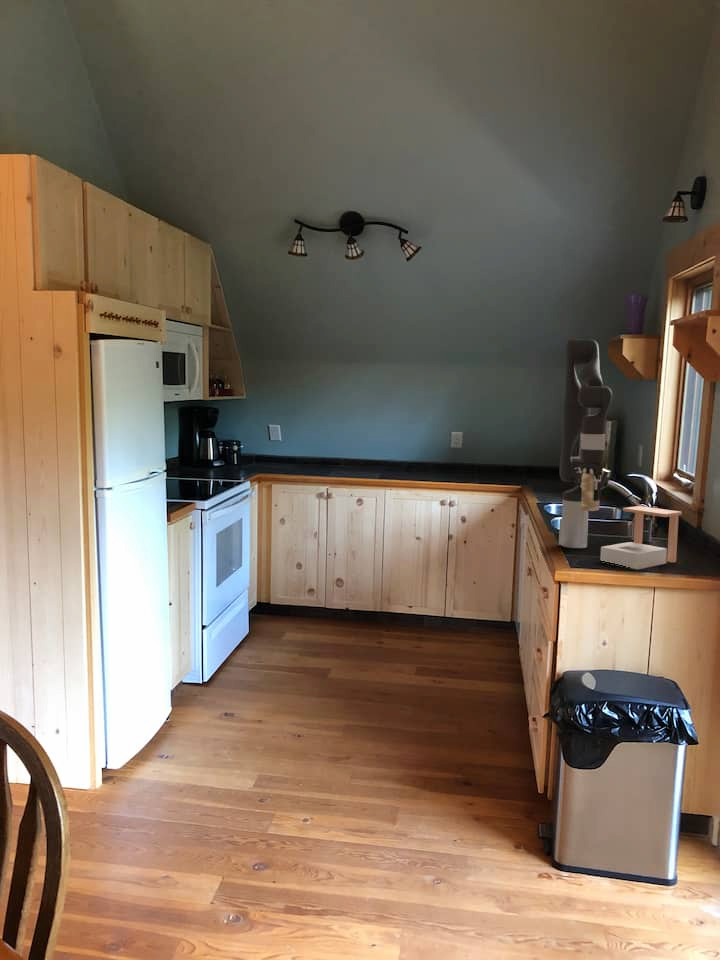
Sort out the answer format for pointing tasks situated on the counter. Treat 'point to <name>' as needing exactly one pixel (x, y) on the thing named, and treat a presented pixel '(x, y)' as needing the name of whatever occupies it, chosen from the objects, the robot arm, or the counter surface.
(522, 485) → the counter surface
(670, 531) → the wooden arch frame
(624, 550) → the socket block
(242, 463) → the counter surface
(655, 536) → the counter surface
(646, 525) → the supplement bottle
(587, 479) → the peg
